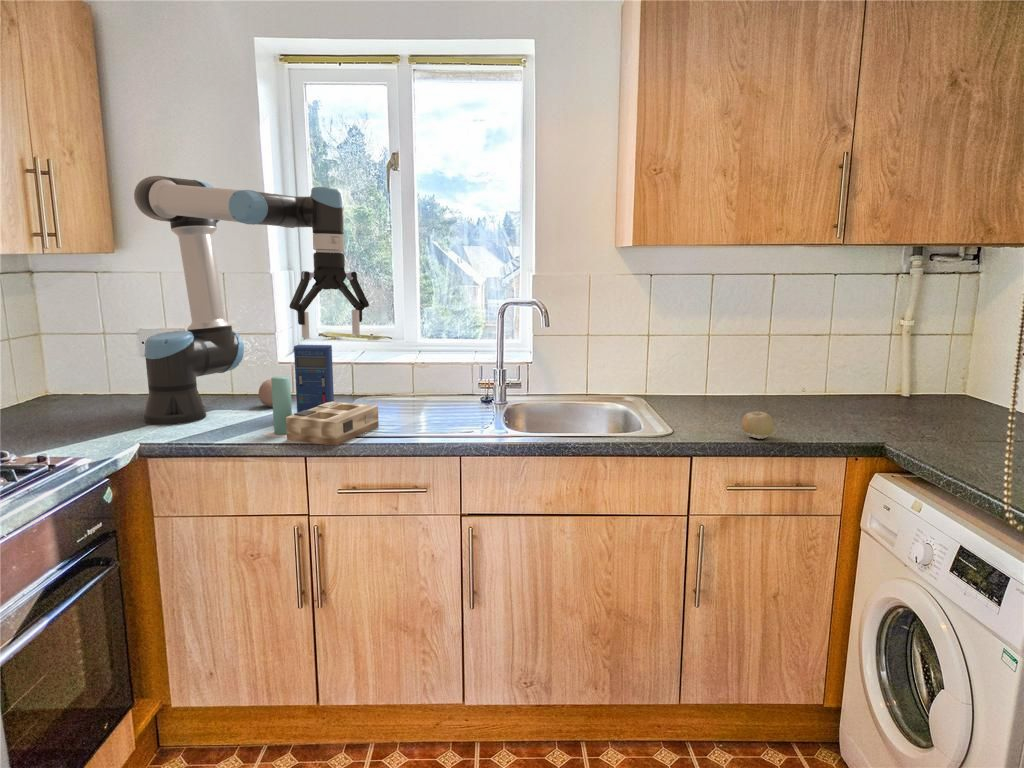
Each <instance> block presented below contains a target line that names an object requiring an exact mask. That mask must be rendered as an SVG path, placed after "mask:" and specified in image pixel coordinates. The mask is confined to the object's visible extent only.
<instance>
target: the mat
mask: <svg viewBox="0 0 1024 768" xmlns="http://www.w3.org/2000/svg"><path fill="white" fill-rule="evenodd" d="M260 436H265V437H270V438H271V437H273V438H281V439H287V434H286V435H276V434H274V429H271V430H270V431H266V432H264V433H261V434H260Z"/></svg>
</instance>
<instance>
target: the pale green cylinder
mask: <svg viewBox="0 0 1024 768" xmlns="http://www.w3.org/2000/svg"><path fill="white" fill-rule="evenodd" d="M270 379H271V385H272V402H273V407H272V413H273V414H272V415H273V418H272V419H273V430H274V434H276V435H286V434H287V427H286V417H288V416H291V415H293V411H292V409H293V408H292V393H291V392H292V390H291V388H292V387H291V377H290V376H274V377H271V378H270Z"/></svg>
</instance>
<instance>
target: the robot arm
mask: <svg viewBox="0 0 1024 768" xmlns="http://www.w3.org/2000/svg"><path fill="white" fill-rule="evenodd" d="M343 198H344V197H343V191H342V189H340V188H338V187H332V186H331V187H329V186H314V187H312V188H311V191H310V195H309V196H296V195H295V196H293V195H286V194H280V193H279V194H277V193H268V192H263V191H256V190H251V189H232V188H230V189H229V188H220V187H219V188H218V187H213V185H211V184H210V183H207V182H204V181H200V180H197V179H188V178H186V179H185V178H180V177H179V178H177V177H169V176H163V175H151V176H147V177H145V178H143V179H141V180H140V181H139V182H138V183H137V185H136V186H135V188H134V193H133V199H134V203H135V205H136V206H137V209H138V210H139V211H140V212H141V213H142V214H143V215H145V216H146V217H148V218H150V219H153V220H155V221H160V222H168V223H169V224H170V230H171V232H173V233H174V234H175V235H177V237H178V244H179V247H180V249H179V250H180V254H181V260H182V261H181V263H182V268H183V274H184V280H185V285H186V293H187V299H188V305H189V306H188V307H189V310H190V311H189V312H190V317H191V323H190V325H189V326H188V327H187V329H186V330H174V331H165V332H161V333H157V334H154V335H151V336H149V337H147V339H146V340H145V341H144V352H143V353H144V358H145V365H146V375H147V376H146V378H147V387H148V394H147V400H146V403H145V404H146V405H145V409H144V410H143V414H142V415H143V421H144V423H145V424H148V425H153V426H155V425H156V426H172V425H182V424H183V425H184V424H187V423H193V422H198V421H201V420H203V419H205V418H206V417H207V410H206V406H205V405H204V403H203V401H202V398H201V395H200V393H199V391H198V384H197V377H202V376H203V377H204V376H209V375H215V374H223V373H224V374H225V373H226V372H229V371H232V370H235V369H236V368H238V367H239V365H240V364H241V363H242V360H243V358H244V354H245V344H244V341H243V339H242V337H240V335H239V334H238V332H236V331H234V330H233V327H232V324H231V323H230V322H229V321H227V320H226V317H225V312H224V306H223V305H224V304H223V299H222V292H221V285H220V280H219V272H218V266H217V260H216V258H217V257H216V253H215V251H216V250H215V247H214V241H213V240H214V239H213V235H214V233H215V232H216V230H218V228H217V224H218V223H219V222H220V221H225V222H234V223H241V224H245V225H260V226H263V225H264V226H275V227H281V228H291V229H295V228H312V229H311V230H312V249H313V250H314V251H315V252H313V253H312V255H313V258H312V259H313V272H310V271H307V270H302V271H301V275H300V280H299V284H298V286H297V288H296V290H295V293H294V295H293V297H292V299H291V301H290V303H289V309H290V310H294V311H296V313H297V323H298V325H300V326H301V338H304V339H306V340H307V339H310V324H309V323H310V321H309V311H306V310H307V309H308V307H309V306H310V305H311V304H312V302H313V301H314V300H315V298H316V297H317V296H318V294H319V293H320V292H321V291H322V290H325V291H326V290H328V291H329V290H338V291H340V292H341V294H343V296H344V297H345V298H346V300H347V301H348V302H349V303H350V305H352V307H353V308H354V309H351V330H352V333H351V334H352V335H353V336H360V335H361V333H360V323H362V322H363V310H364V309H365V308H368V307H370V303H369V301H368V300H367V299H368V298H367V297H366V295H365V293H364V291H363V289H362V286H361V285H360V282H359V280H358V273H357V271H354V270H353V271H352V270H351V271H347V272H346V271H345V267H346V262H345V261H346V260H345V259H346V258H345V254H344V252H343V251H345V233H344V232H345V231H344V207H345V206H344V201H343V200H344V199H343ZM312 278H313V280H315V282H314V284H313V285H312V286H311V288H310V290H309V291H308V293H307V294H306V295H305V292H306V290H307V288H308V287H309V286H308V285H309V283H310V281H311V280H312ZM346 279H347V281H349V283H350V286H351V288H352V290H353V292H354V294H355V295H354V294H353V292H351V290H350V289H349V287H348V285H347V284H346V283H345V280H346ZM304 296H305V297H304Z"/></svg>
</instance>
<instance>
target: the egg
mask: <svg viewBox="0 0 1024 768" xmlns="http://www.w3.org/2000/svg"><path fill="white" fill-rule="evenodd" d="M257 395H258V400H259V401H260V402H261V404H263V405H264V406H266V407H269V408H273V402H272V385H271V378H269V379H266V380H265V381H263V382H262V383H261V384H260V386H259V389H258V394H257Z"/></svg>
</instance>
